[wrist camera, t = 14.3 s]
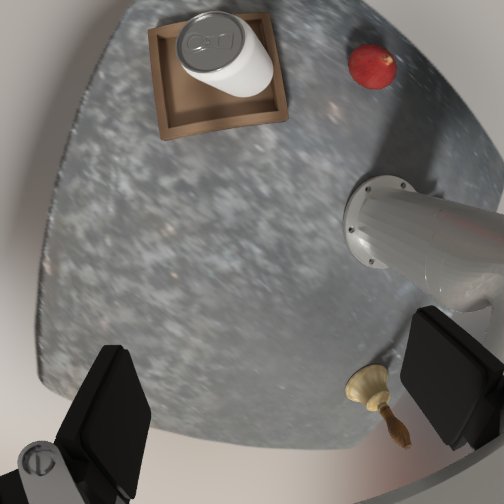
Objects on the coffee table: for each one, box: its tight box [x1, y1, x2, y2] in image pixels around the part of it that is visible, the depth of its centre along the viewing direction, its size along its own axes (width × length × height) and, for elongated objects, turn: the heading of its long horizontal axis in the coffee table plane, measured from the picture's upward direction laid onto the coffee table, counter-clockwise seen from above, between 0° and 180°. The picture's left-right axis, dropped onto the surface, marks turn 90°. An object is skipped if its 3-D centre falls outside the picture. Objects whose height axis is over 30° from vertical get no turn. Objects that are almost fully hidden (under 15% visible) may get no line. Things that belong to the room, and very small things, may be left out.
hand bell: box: [345, 365, 412, 450], centre depth 38 cm, size 8×8×16 cm
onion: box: [348, 44, 397, 89], centre depth 28 cm, size 6×6×8 cm
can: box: [175, 11, 273, 97], centre depth 24 cm, size 6×6×12 cm
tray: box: [148, 12, 289, 141], centre depth 29 cm, size 14×14×2 cm
